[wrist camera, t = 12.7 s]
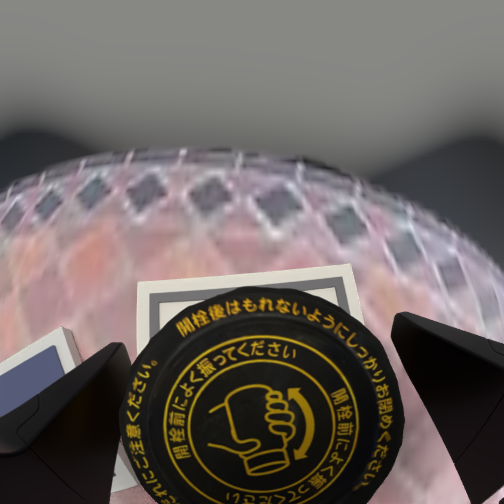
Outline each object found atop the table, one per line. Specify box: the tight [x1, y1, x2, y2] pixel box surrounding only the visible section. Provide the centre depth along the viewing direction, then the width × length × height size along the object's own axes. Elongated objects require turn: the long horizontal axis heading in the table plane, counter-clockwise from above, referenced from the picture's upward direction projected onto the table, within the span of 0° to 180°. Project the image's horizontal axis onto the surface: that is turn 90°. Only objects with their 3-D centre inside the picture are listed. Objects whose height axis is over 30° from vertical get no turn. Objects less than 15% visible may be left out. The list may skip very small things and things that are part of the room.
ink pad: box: [0, 326, 140, 493], centre depth 12 cm, size 11×11×2 cm
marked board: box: [137, 264, 365, 357], centre depth 15 cm, size 14×14×1 cm
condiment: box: [119, 286, 405, 504], centre depth 9 cm, size 7×8×12 cm
